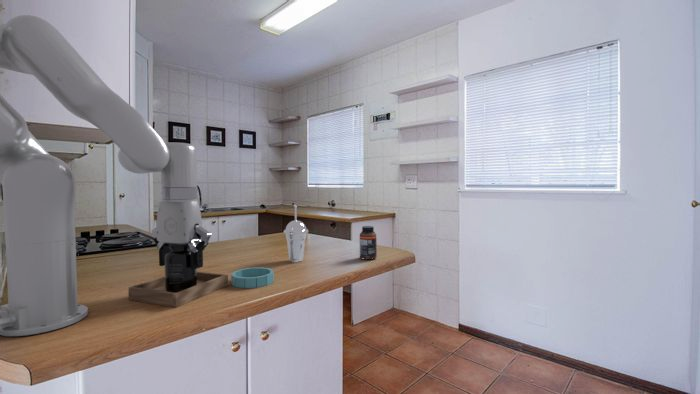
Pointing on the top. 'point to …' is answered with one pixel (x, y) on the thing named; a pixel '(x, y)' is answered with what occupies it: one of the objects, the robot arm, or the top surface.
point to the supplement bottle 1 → (179, 269)
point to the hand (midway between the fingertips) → (181, 266)
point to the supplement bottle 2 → (368, 243)
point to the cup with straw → (296, 238)
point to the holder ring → (252, 277)
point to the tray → (158, 294)
